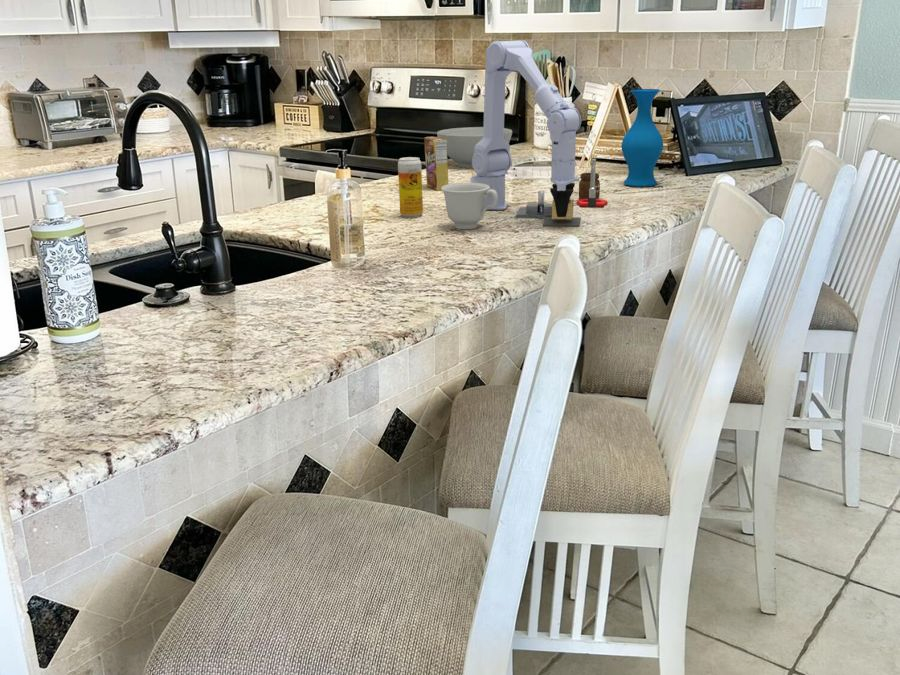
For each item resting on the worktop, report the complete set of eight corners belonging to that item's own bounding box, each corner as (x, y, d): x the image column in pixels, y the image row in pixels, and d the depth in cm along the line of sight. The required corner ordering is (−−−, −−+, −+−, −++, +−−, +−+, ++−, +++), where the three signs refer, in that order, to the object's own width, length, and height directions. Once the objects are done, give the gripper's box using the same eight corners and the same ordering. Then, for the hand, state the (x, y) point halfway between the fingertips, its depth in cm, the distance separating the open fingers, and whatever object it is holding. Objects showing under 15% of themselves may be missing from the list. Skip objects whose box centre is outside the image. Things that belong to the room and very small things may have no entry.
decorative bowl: (522, 161, 309) (522, 127, 305) (496, 172, 287) (496, 136, 282) (455, 158, 320) (455, 126, 316) (425, 169, 297) (424, 134, 293)
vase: (669, 184, 257) (675, 89, 247) (640, 189, 250) (645, 92, 241) (640, 179, 266) (644, 87, 257) (611, 184, 260) (615, 90, 250)
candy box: (425, 186, 265) (423, 137, 259) (438, 185, 266) (436, 136, 261) (436, 191, 257) (434, 140, 252) (449, 189, 259) (447, 139, 253)
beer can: (406, 219, 220) (403, 161, 215) (396, 215, 225) (393, 158, 220) (426, 216, 222) (424, 158, 217) (417, 212, 227) (414, 156, 222)
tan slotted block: (551, 219, 209) (552, 203, 207) (553, 214, 213) (553, 199, 212) (572, 219, 208) (572, 203, 207) (573, 215, 213) (573, 199, 211)
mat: (542, 226, 208) (542, 224, 208) (545, 218, 216) (545, 216, 216) (579, 226, 206) (579, 225, 206) (580, 218, 215) (580, 217, 214)
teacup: (485, 235, 200) (484, 193, 197) (432, 229, 207) (431, 189, 204) (509, 225, 210) (509, 185, 206) (458, 220, 217) (457, 181, 214)
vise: (516, 217, 218) (516, 194, 216) (520, 209, 227) (520, 187, 225) (566, 218, 216) (567, 195, 214) (568, 210, 225) (569, 188, 223)
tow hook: (577, 202, 237) (576, 207, 228) (578, 156, 233) (577, 159, 225) (607, 203, 236) (607, 208, 227) (609, 156, 232) (609, 159, 223)
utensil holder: (575, 199, 238) (576, 157, 234) (582, 196, 244) (584, 154, 239) (595, 201, 236) (597, 157, 232) (602, 197, 241) (604, 154, 237)
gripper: (578, 164, 198) (577, 221, 203) (580, 155, 212) (579, 208, 216) (548, 164, 200) (547, 220, 204) (552, 155, 213) (551, 208, 218)
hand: (562, 214), depth 210 cm, fingers closed on tan slotted block, 5 cm apart
